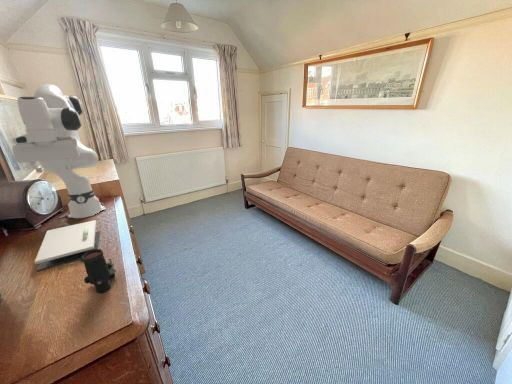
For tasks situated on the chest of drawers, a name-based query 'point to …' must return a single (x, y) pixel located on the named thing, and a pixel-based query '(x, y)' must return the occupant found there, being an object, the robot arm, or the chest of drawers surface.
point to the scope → (98, 270)
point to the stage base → (67, 257)
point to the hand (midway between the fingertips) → (54, 170)
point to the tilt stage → (67, 241)
